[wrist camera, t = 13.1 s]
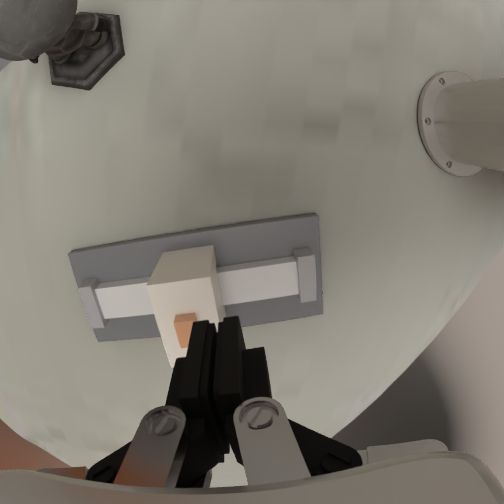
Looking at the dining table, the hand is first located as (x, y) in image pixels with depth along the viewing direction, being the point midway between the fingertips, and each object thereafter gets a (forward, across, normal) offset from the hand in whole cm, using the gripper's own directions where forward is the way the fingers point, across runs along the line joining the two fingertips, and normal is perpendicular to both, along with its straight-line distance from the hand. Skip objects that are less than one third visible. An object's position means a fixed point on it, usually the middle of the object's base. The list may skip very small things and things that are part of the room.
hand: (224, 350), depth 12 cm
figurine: (+21, +12, -20) cm, 32 cm away
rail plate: (+21, +5, +6) cm, 22 cm away
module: (+20, +5, +6) cm, 21 cm away
